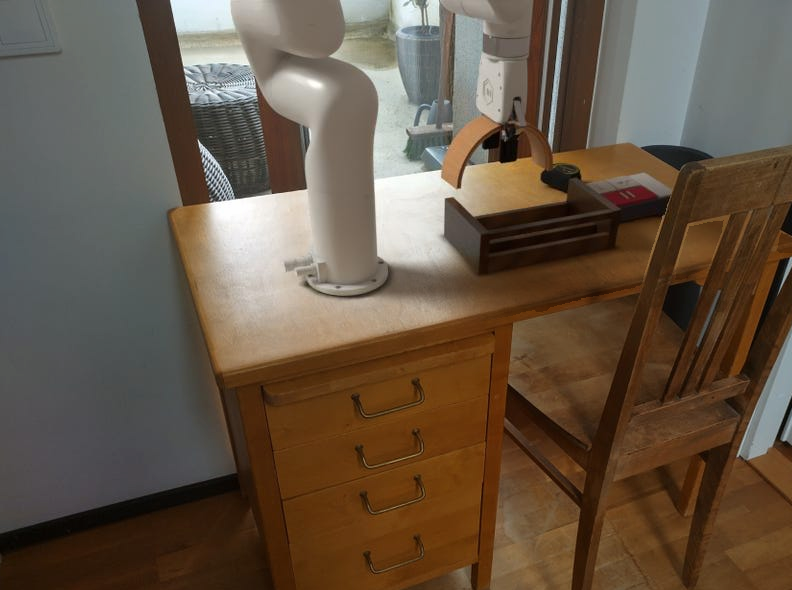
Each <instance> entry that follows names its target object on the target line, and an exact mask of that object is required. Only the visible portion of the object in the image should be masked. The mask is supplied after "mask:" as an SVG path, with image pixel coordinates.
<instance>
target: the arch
mask: <svg viewBox="0 0 792 590" xmlns="http://www.w3.org/2000/svg"><path fill="white" fill-rule="evenodd" d="M510 120H513V117H509V119H508V121H510ZM501 126H502V124H497V123H496V122H494V121H493V120H491V119H490V118H489V117H487V116H486V115H482V114H481V115H480V116H478V117H476V118H474V119H473V120H471V121H470V122H468V123H467V124H465V126H463V128H461V129H460V130H459V131H458V133H457V134H456V136H455V137H454V138H453V139H452V141H451V143H450V144H449V147H447V149H446V152H445V155H444V157H443V161H442V164H441V171H440V178H441V179H442V180H443V181H444V182H445V183H447V184H448V185H449V186H451V187H452V188H454V189H455V190H460V189H462V183H463V177H464V173H465V171H466V167H467V165H468V162H469V161H470V159H471V157H472V155H473V154H474V153H475V151H476V150H477V149H478V147H480V146H481V145H482V142H483V141H484V140H486V139H487V138H488V137H490V136H491V135H492V134H494V133H496V132H498V131H500V132H502V127H501ZM507 127H508V129H511V128H513V124H509V125H507ZM523 132H524V133H525V134H526V136H527V139H528V141H529V144H530V149H531V162H532V163H534V164H536V165H537V166H539V167H541V168H542V169H543V170H545V169H547V171H550V170H553V164H554V155H553V150H552V147H551V144H550V141H549V140H548V138H547V137H546V135H545V133H543V132H542V131H541V130H540V129H539V128H538V127H536V126H534V125H533V124H531V123H529V122H527V121H526V128H525V129H524V130H523Z"/></svg>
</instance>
